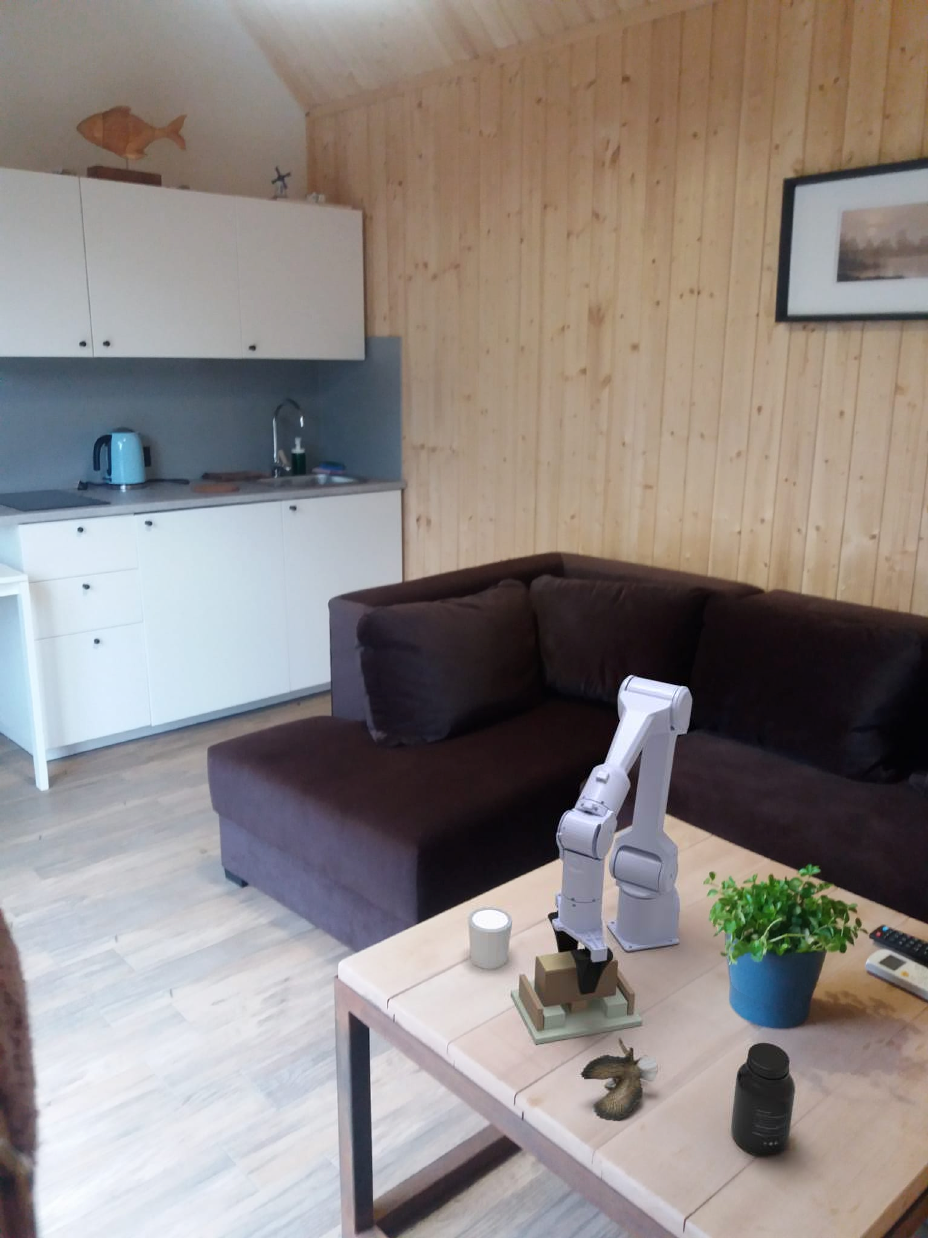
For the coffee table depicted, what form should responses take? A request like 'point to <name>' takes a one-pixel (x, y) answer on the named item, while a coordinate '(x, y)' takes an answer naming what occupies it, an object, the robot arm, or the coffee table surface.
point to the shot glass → (489, 937)
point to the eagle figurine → (620, 1081)
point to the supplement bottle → (763, 1101)
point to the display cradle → (575, 1013)
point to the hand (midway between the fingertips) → (577, 976)
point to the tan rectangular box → (568, 980)
